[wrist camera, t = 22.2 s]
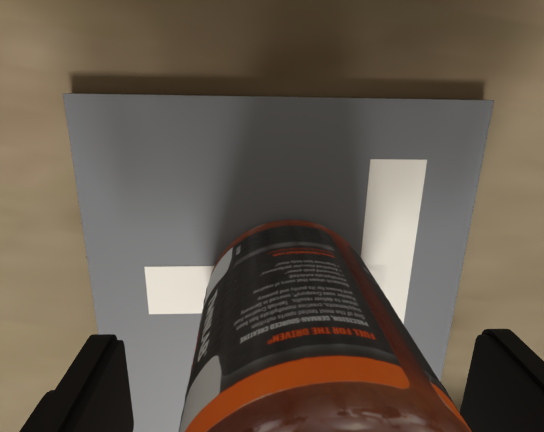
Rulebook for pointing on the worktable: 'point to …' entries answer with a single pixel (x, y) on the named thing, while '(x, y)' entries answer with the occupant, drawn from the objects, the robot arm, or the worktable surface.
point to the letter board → (264, 208)
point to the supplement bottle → (306, 344)
